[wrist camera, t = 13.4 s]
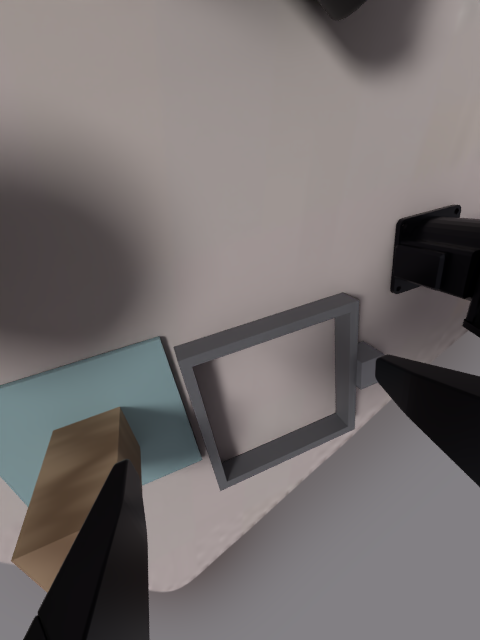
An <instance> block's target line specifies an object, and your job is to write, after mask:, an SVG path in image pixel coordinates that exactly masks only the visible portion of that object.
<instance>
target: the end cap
mask: <svg viewBox="0 0 480 640" xmlns="http://www.w3.org/2000/svg"><path fill="white" fill-rule="evenodd" d="M366 1H367V0H318V2H319V3H320V4H321V5H322V7H323V8H324V9H325V11H326V12H327V13H328V15H329V16H330V17H331V18H332V19H333V20H338V21H339V20H342V19H344V18H346V17H348V16H349V15H350V14H352V13H353V12H355V11H356V10H357V9H358V8H359V7H360V6H361V5H363V4H364V3H365V2H366Z"/></svg>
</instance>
